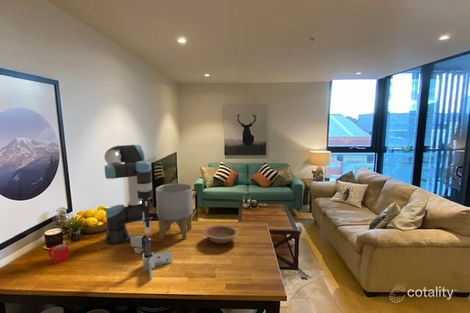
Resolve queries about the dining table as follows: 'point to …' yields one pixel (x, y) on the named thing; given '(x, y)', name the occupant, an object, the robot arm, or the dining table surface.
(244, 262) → the dining table surface
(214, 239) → the bowl
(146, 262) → the hinge leaves
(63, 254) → the mug
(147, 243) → the pin
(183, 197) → the planter
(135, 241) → the pneumatic valve
